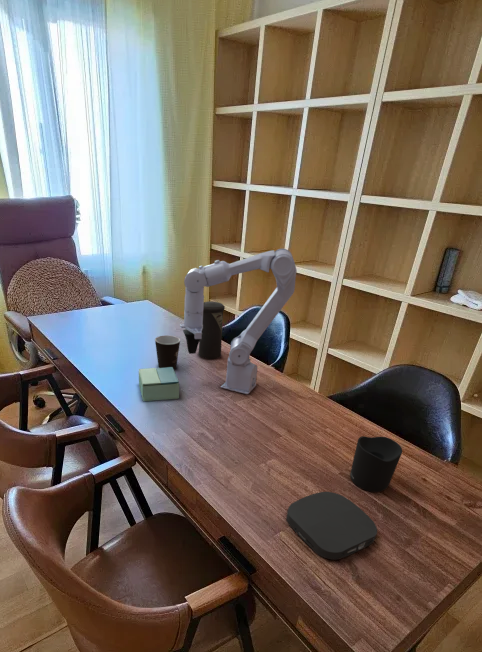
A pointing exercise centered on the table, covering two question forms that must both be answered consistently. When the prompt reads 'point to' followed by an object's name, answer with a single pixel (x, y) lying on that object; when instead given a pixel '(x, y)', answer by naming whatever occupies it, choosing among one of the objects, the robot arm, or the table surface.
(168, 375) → the lid
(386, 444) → the pen holder
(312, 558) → the table surface
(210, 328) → the container
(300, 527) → the media streaming box
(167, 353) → the coffee mug
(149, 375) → the box
